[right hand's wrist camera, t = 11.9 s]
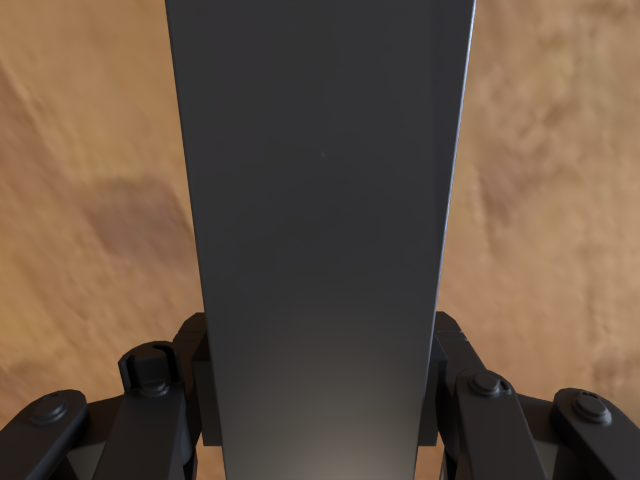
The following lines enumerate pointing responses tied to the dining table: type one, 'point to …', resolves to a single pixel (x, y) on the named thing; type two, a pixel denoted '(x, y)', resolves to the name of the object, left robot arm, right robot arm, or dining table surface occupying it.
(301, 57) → the beam
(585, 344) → the dining table surface
